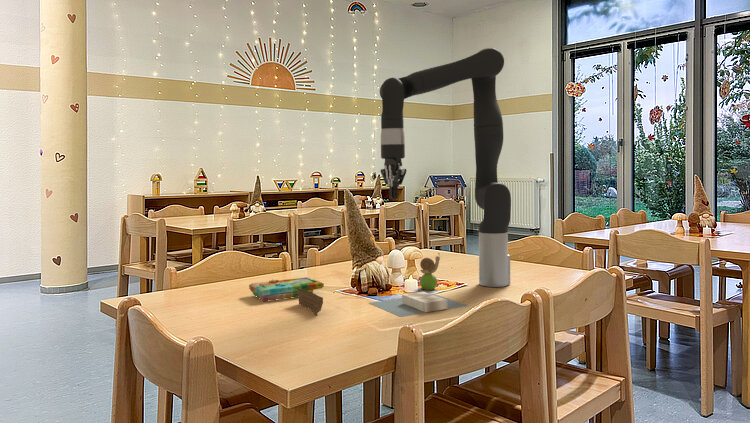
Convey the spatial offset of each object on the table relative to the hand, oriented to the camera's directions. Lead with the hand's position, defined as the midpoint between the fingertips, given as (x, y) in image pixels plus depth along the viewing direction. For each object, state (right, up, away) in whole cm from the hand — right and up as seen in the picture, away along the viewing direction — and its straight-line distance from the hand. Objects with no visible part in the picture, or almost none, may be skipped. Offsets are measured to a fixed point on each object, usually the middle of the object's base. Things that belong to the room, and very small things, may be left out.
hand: (393, 198), depth 183 cm
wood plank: (-24, -32, -23) cm, 46 cm away
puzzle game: (-33, -31, -3) cm, 45 cm away
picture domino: (+5, -29, -19) cm, 34 cm away
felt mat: (+6, -31, -21) cm, 37 cm away
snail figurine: (+11, -29, -1) cm, 31 cm away
